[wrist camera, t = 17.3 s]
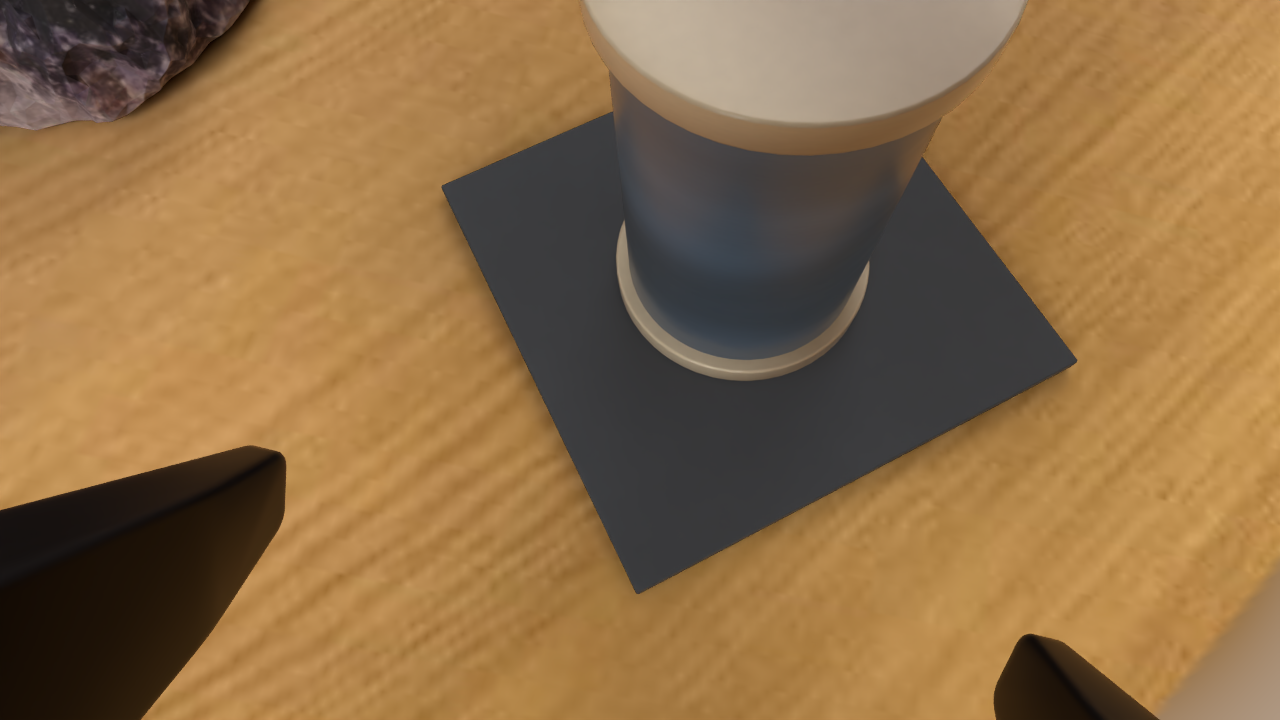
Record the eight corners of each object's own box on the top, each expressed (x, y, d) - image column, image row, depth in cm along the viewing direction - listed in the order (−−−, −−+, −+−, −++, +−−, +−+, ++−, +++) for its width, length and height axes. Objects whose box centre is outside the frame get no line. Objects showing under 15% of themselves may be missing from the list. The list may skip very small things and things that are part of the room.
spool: (773, 432, 17) (879, 213, 8) (567, 290, 18) (480, -20, 10) (910, 241, 18) (1116, -106, 10) (710, 124, 20) (740, -269, 11)
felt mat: (1070, 367, 17) (1079, 360, 17) (637, 594, 16) (636, 593, 16) (816, 31, 21) (819, 20, 21) (444, 194, 20) (440, 185, 19)
